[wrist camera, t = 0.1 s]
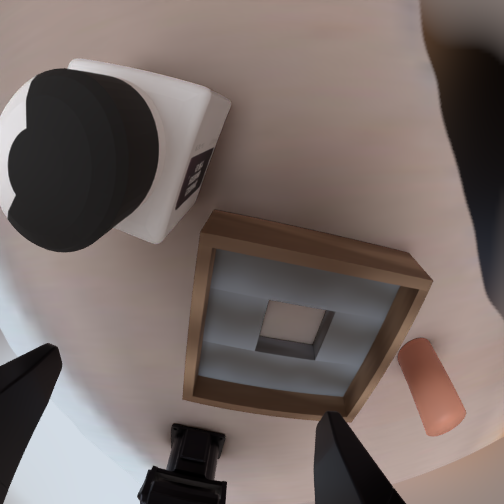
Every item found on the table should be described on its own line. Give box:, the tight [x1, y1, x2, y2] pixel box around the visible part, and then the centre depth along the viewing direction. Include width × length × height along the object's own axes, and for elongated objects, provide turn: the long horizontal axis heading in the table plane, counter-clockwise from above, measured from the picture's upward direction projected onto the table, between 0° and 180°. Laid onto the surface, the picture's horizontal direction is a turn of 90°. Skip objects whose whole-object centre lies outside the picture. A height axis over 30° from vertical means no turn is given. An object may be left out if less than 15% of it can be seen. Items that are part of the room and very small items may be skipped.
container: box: [0, 58, 231, 252], centre depth 14 cm, size 8×8×13 cm
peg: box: [398, 338, 466, 436], centre depth 22 cm, size 4×4×9 cm
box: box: [183, 210, 433, 422], centre depth 23 cm, size 15×15×4 cm
